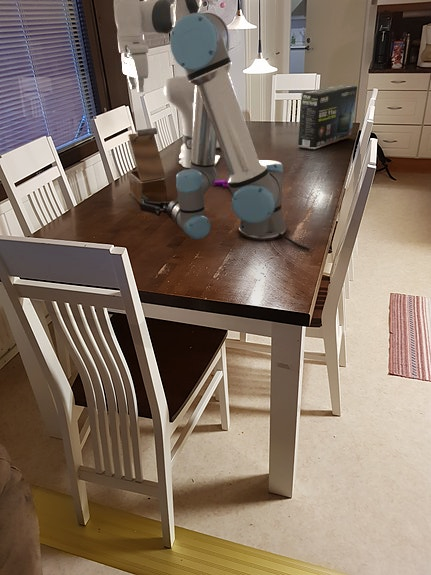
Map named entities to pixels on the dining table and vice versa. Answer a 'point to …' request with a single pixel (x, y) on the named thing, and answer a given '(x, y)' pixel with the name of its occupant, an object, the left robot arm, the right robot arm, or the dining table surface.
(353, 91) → the router box
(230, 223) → the dining table surface
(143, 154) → the lid
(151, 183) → the chest
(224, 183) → the purple curved bar
